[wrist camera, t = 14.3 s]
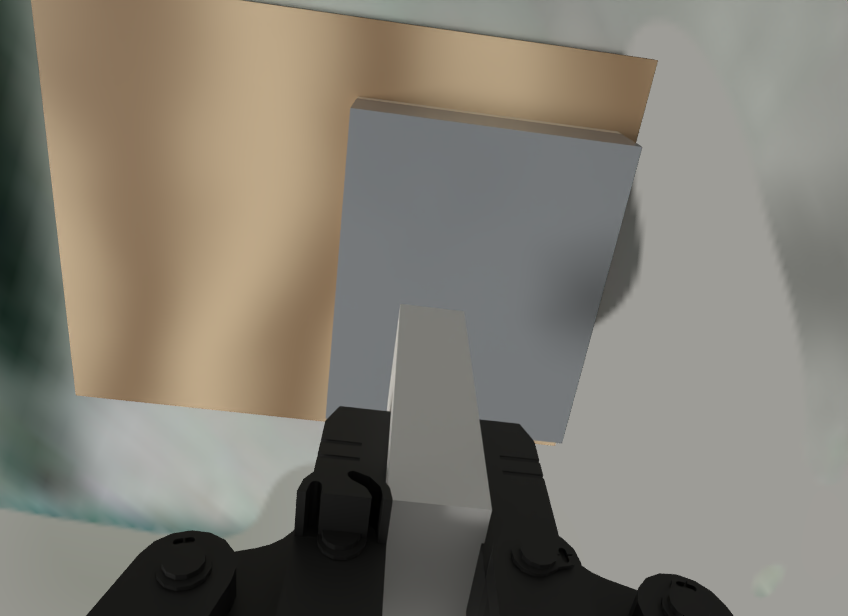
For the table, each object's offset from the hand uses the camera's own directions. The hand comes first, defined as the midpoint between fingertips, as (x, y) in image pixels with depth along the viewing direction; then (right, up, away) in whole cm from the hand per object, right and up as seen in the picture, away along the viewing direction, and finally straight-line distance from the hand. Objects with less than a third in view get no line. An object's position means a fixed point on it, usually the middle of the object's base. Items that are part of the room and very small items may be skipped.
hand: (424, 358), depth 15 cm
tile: (-3, +3, +5) cm, 6 cm away
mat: (-3, +3, +6) cm, 8 cm away
